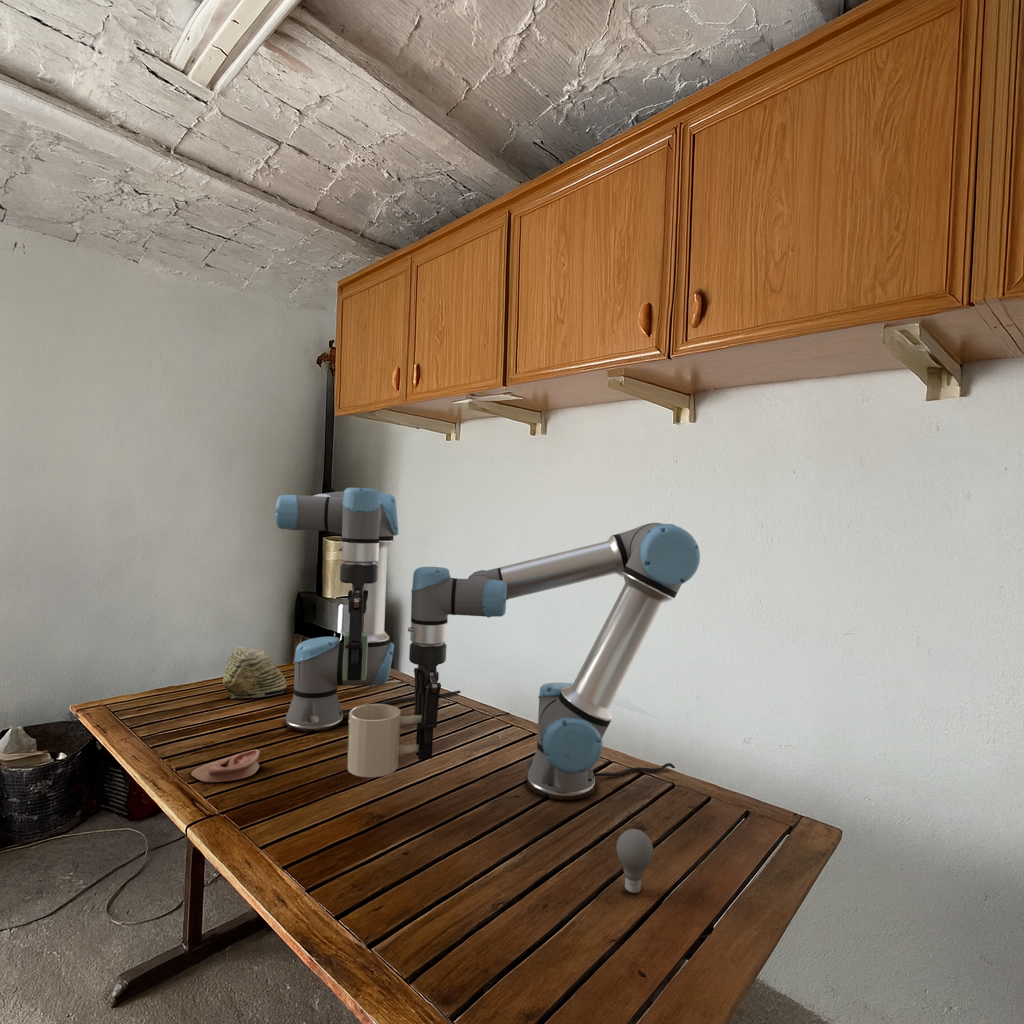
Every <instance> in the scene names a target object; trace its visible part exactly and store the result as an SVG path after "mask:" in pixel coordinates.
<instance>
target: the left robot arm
mask: <svg viewBox="0 0 1024 1024" xmlns="http://www.w3.org/2000/svg"><path fill="white" fill-rule="evenodd" d="M397 509H398V508H397V501H396V498H395V496H394V495H393V494H390V493H384V492H383V493H382V492H381V491H380V490H379V489H378V488H367V487H347V488H345V489H344V491H332V492H325V493H318V494H314V495H297V494H282V495H279V496H278V498H277V500H276V503H275V511H274V513H275V515H274V518H275V525H276V527H277V528H278V529H281V530H289V531H322V532H323V531H325V532H331V533H338V534H341V545H339V546H338V548H337V550H338V551H339V552H340V560H341V562H343V563H341V565H340V569H339V580H340V582H341V583H344V584H351V585H352V586H351V590H349V589H348V592H347V600H348V610H347V611H348V614H349V624H348V625H349V627H348V628H349V629H348V632H349V643H348V645H345V648H348V673H347V680H344V681H343V661H344V642H341V640H340V638H339V637H337V636H320V637H314V638H310V639H306V640H303V641H302V642H299V643H298V645H296V648H295V655H294V660H293V663H294V672H293V673H294V674H293V675H294V679H293V695H292V696H293V697H292V699H291V702H290V704H289V708H288V711H287V713H286V715H285V726H286V728H287V729H289V730H291V731H294V732H295V731H296V732H301V733H316V732H325V731H329V730H332V729H335V728H337V727H339V726H340V725H342V723H343V722H344V714H349V712H350V710H351V709H342V706H341V702H340V699H339V695H338V686H339V687H340V686H343V687H344V686H345V687H347V686H350V687H351V686H353V687H354V686H355V687H357V686H369V687H373V686H383V685H385V684H387V683H388V681H389V678H390V673H391V668H392V662H393V656H394V650H395V643H393V642H390V636H389V634H388V633H387V632H386V631H385V620H386V619H385V618H386V596H387V595H386V593H387V573H388V571H387V570H388V569H387V568H388V548H389V546H390V545H392V544H393V543H394V536H398V535H400V534H399V533H400V532H399V521H398V511H397ZM362 632H368V647H367V672H366V680H361V672H362ZM458 694H461V690H455V691H449V692H443V693H439V698H441V697H447V696H453V695H458ZM406 701H415V696H408V697H401V698H396V699H391V700H386V701H382V702H378V703H377V704H386V705H391V704H394V703H401V702H406Z"/></svg>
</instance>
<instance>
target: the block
mask: <svg viewBox="0 0 1024 1024" xmlns="http://www.w3.org/2000/svg"><path fill="white" fill-rule="evenodd" d="M343 637H344V639H343V640H344V641H343V643H344V661H343V681H344V680H347V673H348V648H345V645H348V643H349V631H346V632H345V634H344V636H343ZM367 647H368V632H362V672H361V680H366V672H367Z"/></svg>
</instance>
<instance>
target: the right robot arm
mask: <svg viewBox="0 0 1024 1024" xmlns="http://www.w3.org/2000/svg"><path fill="white" fill-rule="evenodd" d="M699 548H700V547H699V544H698V543H697V541H696V539H695V537H694V536H693V535H692V534H691V533H690V532H688V531H687V530H686V529H684V528H682V526H678V525H675V524H673V523H661V522H650V523H646V524H642V525H640V526H637V527H635V528H632V529H629V530H626V531H622V532H619V533H616V534H612V535H610V536H609V538H608V539H607V540H606V541H602V542H598V543H594V544H589V545H585V546H582V547H577V548H573V549H569V550H566V551H565V550H564V551H562V552H561V551H560V552H557V553H551V554H549V555H543V556H540V557H536V558H532V559H527V560H524V561H520V562H515V563H511V564H508V565H503V566H500V567H496V568H492V569H488V570H487V569H485V570H484V569H480V570H477V571H473V573H472V574H470V575H469V576H468V578H454V577H451V574H450V573H451V572H450V570H449V569H448V568H447V567H441V566H440V567H439V566H419V567H418V568H416V569H415V570H413V574H412V586H411V598H410V599H411V603H410V604H411V605H410V606H411V607H410V626H409V627H408V628H407V632H408V633H410V636H409V637H410V639H409V640H410V641H411V642H410V644H409V652H408V653H409V654H408V660H409V662H410V663H412V664H413V665H417V667H414V668H413V675H414V697H415V700H414V715H421V723H416V735H415V736H416V737H415V738H416V739H415V744H419V751H418V753H415V756H417V759H418V761H422V760H431V759H433V746H434V744H433V743H434V729H437V726H438V714H439V703H440V697H439V694H441V693H440V692H441V688H442V684H441V682H438V681H439V678H440V677H439V676H440V675H439V674H440V673H439V671H438V669H437V667H438V666H439V665H442V664H444V663H445V662H446V660H447V649H448V648H447V647H448V646H447V644H446V642H447V641H448V629H449V628H448V625H449V621H448V618H449V617H448V616H467V617H469V616H470V617H485V618H493V617H498V618H499V617H500V618H501V617H504V616H505V615H506V611H507V600H512V599H516V598H521V597H524V596H529V595H532V594H536V593H540V592H545V591H549V590H553V589H557V588H562V587H566V586H570V585H574V584H579V583H583V582H586V581H591V580H595V579H599V578H604V577H607V576H608V577H609V576H612V575H618V576H619V577H621V578H622V577H623V580H624V585H623V586H622V589H621V591H620V592H619V594H618V596H617V598H616V600H615V602H614V604H613V606H612V608H611V610H610V612H609V613H608V616H607V617H606V620H605V621H604V624H603V625H602V627H601V629H600V631H599V633H598V635H597V637H596V639H595V641H594V643H593V644H592V647H591V648H590V651H589V652H588V654H587V656H586V658H585V661H584V662H583V664H582V666H581V668H580V670H579V672H578V674H577V675H576V677H575V679H574V682H547V683H544V684H542V685H541V686H540V687H539V693H538V697H537V698H538V715H537V739H536V751H535V753H534V757H533V759H531V760H528V761H527V764H526V767H527V768H529V770H528V772H527V781H526V782H527V787H528V788H529V789H530V790H531V791H532V792H533V793H535V794H536V795H539V796H541V797H544V798H547V799H550V800H557V801H578V800H580V799H581V800H582V799H585V798H587V797H589V796H590V795H592V794H593V793H594V791H595V785H596V779H595V777H620V776H622V775H623V776H624V775H626V774H627V773H630V772H635V771H638V772H639V771H640V772H660V771H662V770H664V769H666V768H668V767H670V768H672V769H676V767H675V765H674V764H673V763H671V762H666V763H664V764H663V765H661V766H659V767H640V766H639V767H638V766H637V767H635V766H634V767H629V768H626V769H623V770H621V771H618V772H594V771H593V767H594V766H595V765H596V764H597V763H598V762H599V760H600V758H601V756H602V751H603V746H604V745H603V737H604V735H605V734H606V732H607V730H608V728H609V726H610V724H611V721H612V719H613V716H612V713H611V709H610V708H611V705H612V703H613V701H614V699H615V697H616V695H617V693H618V691H619V690H620V687H621V686H622V683H623V682H624V680H625V678H626V676H627V674H628V672H629V670H630V668H631V666H632V664H633V662H634V661H635V658H636V657H637V656H638V653H639V651H640V649H641V647H642V645H643V644H644V641H645V639H646V638H647V636H648V634H649V632H650V630H651V628H652V626H653V624H654V622H655V620H656V618H657V616H658V614H659V612H660V610H661V609H662V607H663V605H664V604H665V603H668V602H670V601H671V602H672V601H674V600H675V598H676V596H677V595H678V592H679V591H680V590H681V589H680V588H681V587H682V585H683V584H685V583H687V582H688V581H689V580H691V579H692V578H693V577H694V575H695V574H696V573H697V570H698V569H699V566H700V561H701V552H700V549H699ZM660 767H662V768H660Z"/></svg>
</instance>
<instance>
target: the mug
mask: <svg viewBox="0 0 1024 1024" xmlns="http://www.w3.org/2000/svg"><path fill="white" fill-rule="evenodd" d="M349 710H350V712H349V713H348V728H347V732H348V733H347V753H346V754H347V755H346V756H347V758H346V761H347V762H346V769H347V771H348V772H349V773H350V774H352V775H354V776H356V777H359V778H360V777H361V778H379V777H384V776H388V775H390V774H393V773H394V772H396V771H397V770H398V768H399V762H400V755H407V754H416V753H418V751H419V744H416V743H414V744H407V745H405V744H404V745H400V742H401V738H400V737H401V726H402V725H413V724H414V725H415V724H417V723H421V715H415V714H414V715H413V714H412V715H404V716H403V715H402V714H401V713H402V711H401V709H400V708H399V707H397V706H396V705H395V706H394V705H391V704H378V703H369V704H363V705H358V706H356V707H353V708H352V709H349ZM401 715H402V716H401Z"/></svg>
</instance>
